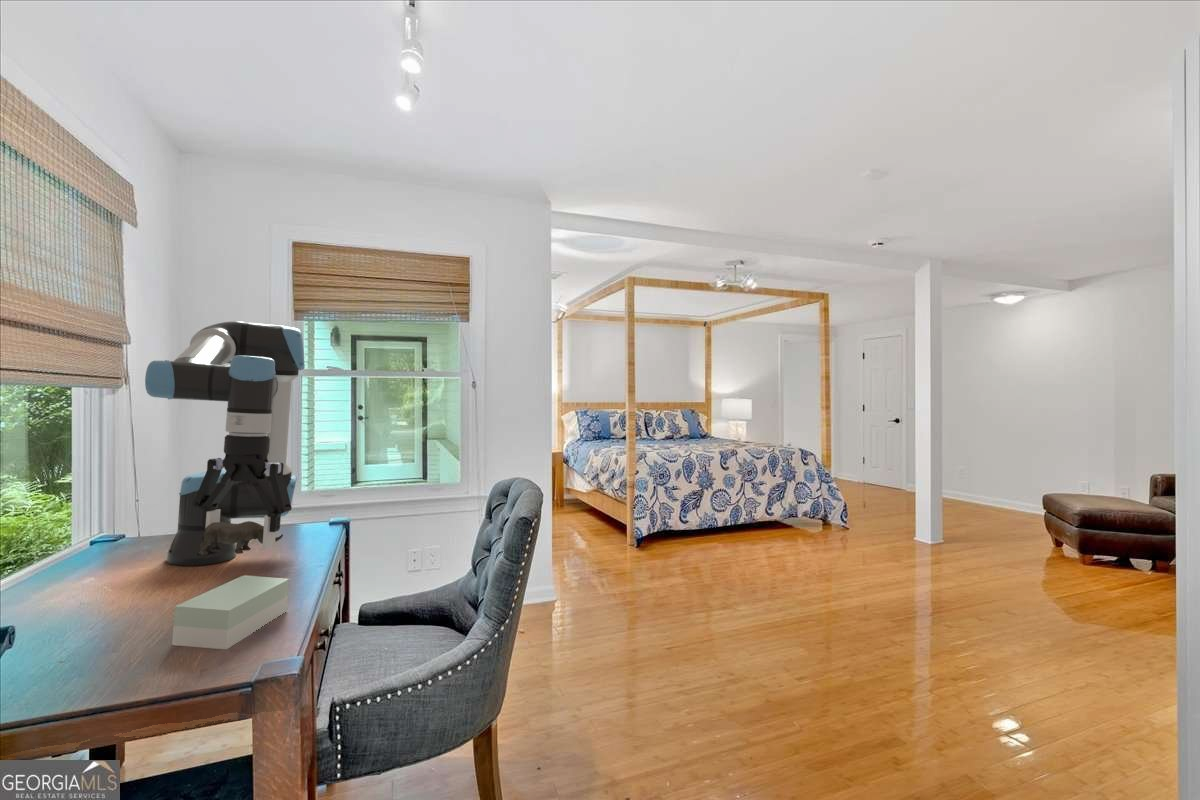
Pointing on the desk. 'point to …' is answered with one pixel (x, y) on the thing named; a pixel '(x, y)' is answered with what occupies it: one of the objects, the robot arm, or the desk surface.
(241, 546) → the rhino figurine
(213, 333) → the robot arm
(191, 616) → the block
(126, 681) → the desk surface
